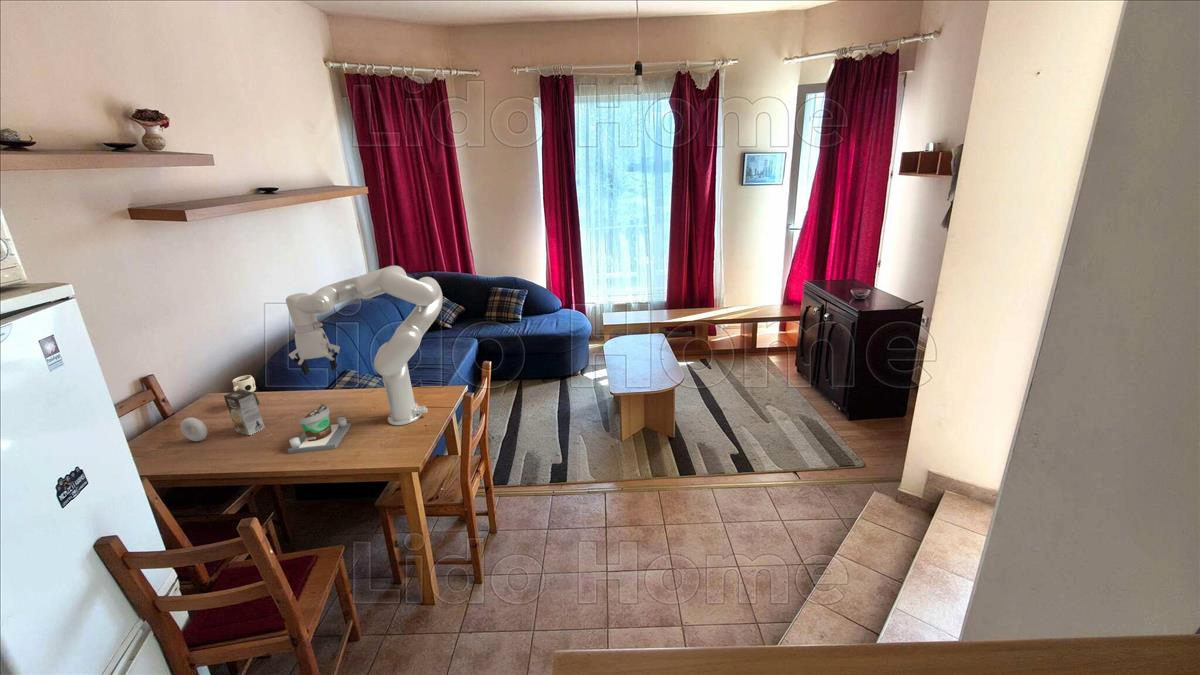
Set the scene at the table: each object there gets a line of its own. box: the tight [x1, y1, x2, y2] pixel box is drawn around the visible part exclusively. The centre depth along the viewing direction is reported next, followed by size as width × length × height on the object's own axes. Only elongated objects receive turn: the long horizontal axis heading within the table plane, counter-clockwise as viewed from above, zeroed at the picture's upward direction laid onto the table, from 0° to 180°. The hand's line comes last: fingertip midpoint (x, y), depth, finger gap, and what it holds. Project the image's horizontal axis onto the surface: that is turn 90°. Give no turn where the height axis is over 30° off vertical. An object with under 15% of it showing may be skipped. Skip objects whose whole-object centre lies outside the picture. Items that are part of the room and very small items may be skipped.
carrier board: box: [287, 416, 352, 455], centre depth 184 cm, size 16×16×4 cm
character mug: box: [232, 374, 260, 404], centre depth 213 cm, size 11×7×13 cm, turn 175°
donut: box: [180, 416, 208, 442], centre depth 187 cm, size 10×4×10 cm, turn 79°
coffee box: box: [223, 389, 266, 436], centre depth 192 cm, size 9×6×16 cm
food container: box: [298, 403, 332, 441], centre depth 182 cm, size 12×6×10 cm, turn 171°
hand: (320, 371), depth 183 cm, fingers open, 9 cm apart
